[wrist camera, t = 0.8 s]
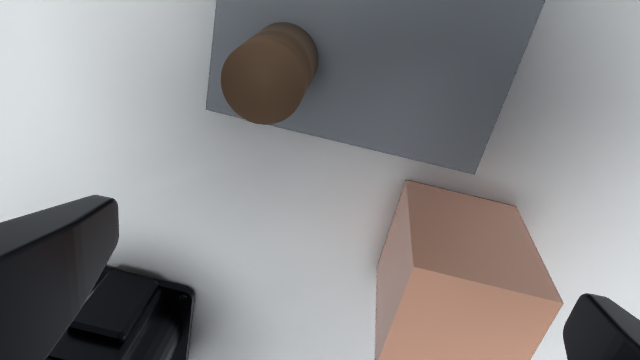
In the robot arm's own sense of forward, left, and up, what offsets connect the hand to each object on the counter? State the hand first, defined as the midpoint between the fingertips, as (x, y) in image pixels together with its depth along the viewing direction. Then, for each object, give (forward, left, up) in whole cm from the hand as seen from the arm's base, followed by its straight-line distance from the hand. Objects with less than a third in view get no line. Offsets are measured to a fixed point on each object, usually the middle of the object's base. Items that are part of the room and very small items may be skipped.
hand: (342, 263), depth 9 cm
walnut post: (+1, +3, -13) cm, 13 cm away
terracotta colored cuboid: (-6, -6, -13) cm, 15 cm away
